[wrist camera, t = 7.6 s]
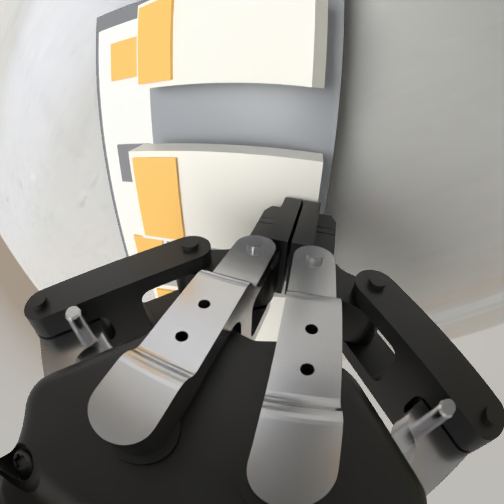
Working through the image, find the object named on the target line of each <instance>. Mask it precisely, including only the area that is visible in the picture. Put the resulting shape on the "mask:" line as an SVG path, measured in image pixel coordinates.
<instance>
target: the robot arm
mask: <svg viewBox="0 0 504 504" xmlns="http://www.w3.org/2000/svg"><path fill="white" fill-rule="evenodd" d="M320 207H321V203H319V202H313V201H307V200H305V201H304V204H303V207H302V200H301V199H295V198H289V197H285V199H284V202H283V204H282V206H281V207H277V206H271V207H269V208H267V209H266V210H264V212H263V214H262V215H261V217H260V219H259V220H258V222H257V224H256V226H255V227H254V229H253V231H252V232H251V234H250V236H245V237H242V238H240V239H239V240H237V241H236V242H235V244H234V245H233V246H232V248H231V249H221V250H211V244H210V242H209V241H208V240H207V239H205V238H203V237H200V236H187V237H183V238H180V239H177V240H174V241H171V242H168V243H165V244H162V245H159V246H157V247H154V248H151V249H148V250H145V251H142V252H140V253H137V254H134V255H131V256H129V257H126V258H123V259H120V260H118V261H115V262H112V263H110V264H107V265H104V266H102V267H99V268H96V269H94V270H91V271H88V272H86V273H83V274H81V275H78V276H76V277H73V278H70V279H68V280H65V281H63V282H60V283H58V284H55V285H53V286H50V287H48V288H45V289H43V290H41V291H38V292H37V293H35V294H34V295H33V296H31V297H30V299H29V300H28V301H27V303H26V305H25V309H24V313H25V316H26V317H27V319H28V320H29V322H30V324H31V325H32V326H33V328H34V329H35V331H36V333H37V335H38V337H39V338H40V345H41V354H42V363H43V370H44V378H42V379H41V380H40V381H39V382H38V383H37V384H36V385H35V386H34V388H33V389H32V391H31V392H30V395H29V397H28V400H27V403H26V409H25V417H24V422H23V427H22V431H21V434H20V437H19V441H18V443H17V445H16V446H15V448H14V449H13V450H12V451H11V452H10V453H9V454H7V455H5V456H3V457H2V458H0V504H427V500H426V495H428V494H429V493H430V492H431V491H432V490H433V489H434V488H435V487H436V486H437V485H439V484H440V482H442V481H443V480H444V479H445V478H446V477H447V476H448V475H449V474H450V473H451V472H452V471H453V470H454V468H455V467H457V466H458V464H459V463H460V462H461V461H462V460H463V459H464V458H465V457H466V456H467V455H468V454H470V453H471V452H473V451H475V450H477V449H479V448H480V447H482V446H484V445H486V444H487V443H489V442H490V441H492V440H494V439H495V438H497V437H498V436H499V435H500V434H501V432H502V430H503V428H504V408H503V406H502V404H501V402H500V401H499V399H498V398H497V397H496V395H495V394H494V393H493V391H492V390H491V389H490V387H489V386H488V385H487V384H486V382H485V381H484V380H483V379H482V377H481V376H480V375H479V374H478V372H477V371H476V370H475V369H474V367H473V366H472V365H471V364H470V363H469V361H468V360H467V359H466V358H465V357H464V356H463V354H462V353H461V352H460V351H459V350H458V349H457V347H456V346H455V345H454V344H453V343H452V342H451V341H450V339H449V338H448V337H447V336H446V335H445V334H444V333H443V332H442V331H441V329H440V328H439V327H438V326H437V325H436V324H435V323H434V322H433V321H432V320H431V319H430V318H429V317H428V316H427V314H426V313H425V312H424V311H423V310H422V309H421V308H420V307H419V306H418V305H417V304H416V303H415V302H414V301H413V300H412V299H411V298H410V297H409V296H408V295H407V294H406V293H405V292H404V291H403V290H402V289H401V288H400V287H399V286H398V285H397V284H396V283H395V282H394V281H393V280H392V279H391V278H390V277H389V276H387V275H386V274H384V273H381V272H379V271H375V270H365V271H362V272H360V273H358V275H357V276H356V277H355V276H353V275H351V274H348V273H346V272H345V271H343V270H342V269H340V268H339V267H338V266H337V265H336V263H335V258H334V243H335V228H336V222H335V221H334V219H333V218H332V216H329V215H324V214H319V213H320ZM301 210H302V211H301ZM286 277H287V280H286ZM174 280H176V281H177V286H178V290H175V291H173V292H171V293H168V294H166V295H163V296H161V297H158V298H156V299H153V300H151V301H148V302H142V297H143V295H144V294H145V293H146V292H147V291H149V290H151V289H154V288H156V287H159V286H161V285H164V284H166V283H169V282H171V281H174ZM285 280H286V287H285V295H286V298H285V303H284V308H283V313H282V318H281V323H280V328H279V333H278V338H277V341H255V339H256V337H257V335H258V332H259V330H260V328H261V326H262V324H263V322H264V319H265V317H266V315H267V313H268V311H269V308H270V303H271V300H272V298H273V295H274V292H275V293H280V294H281V293H282V290H283V286H284V283H285ZM377 330H379V331H380V332H381V333H382V335H383V336H384V337H385V338H386V339H387V341H388V342H389V343H390V344H391V346H392V347H393V349H394V351H395V354H394V353H393V351H392V350H391V349H390V348H389V346H388V345H387V344H386V343H385V342H384V340H383V339H382V338H381V337H380V335H379V334H378V333H377ZM342 353H343V354H344V355H345V357H346V358H347V360H348V361H349V362H350V364H351V365H352V366H353V368H354V369H355V371H356V372H357V373H358V375H359V376H360V378H361V379H362V381H363V382H364V384H365V385H366V386H367V388H368V389H369V390H370V392H371V394H372V395H373V396H374V398H375V399H376V401H377V402H378V404H379V405H380V406H381V408H382V409H383V411H384V412H385V414H386V415H387V416H388V418H389V419H390V421H391V422H392V424H393V428H392V431H391V434H390V432H389V431H388V429H387V428H386V426H385V425H384V423H383V421H382V420H381V418H380V417H379V415H378V413H377V412H376V410H375V409H374V407H373V406H372V404H371V402H370V401H369V399H368V398H367V396H366V395H365V393H364V392H363V390H362V389H361V387H360V386H359V384H358V383H357V381H356V380H355V379H354V378H353V377H352V375H350V374H349V373H348V372H347V371H346V370H345V369H343V368H342Z"/></svg>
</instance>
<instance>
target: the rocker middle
mask: <svg viewBox="0 0 504 504" xmlns="http://www.w3.org/2000/svg"><path fill="white" fill-rule="evenodd" d="M128 153H129V160H130V168H131V174H132V181H133V187H134V193H135V199H136V204H137V210H138V215H139V220H140V225H141V230H142V234H143V238H149V239H156V240H162V241H169V242H171V241H174V240H177V239H180V238H183V237H187V236H200V237H203V238H205V239H207V240H208V241H209V242H210V244H211V248H216V249H231V248H232V246H233V245H234V244H235V242H236V241H237V240H239V239H240V238H242V237H245V236H250V234H251V232H252V231H253V229H254V227H255V226H256V224H257V222H258V220H259V219H260V217H261V215H262V214H263V212H264V210H266V209H267V208H269V207H271V206H277V207H281V206H282V204H283V202H284V199H285V197H289V198H295V199H301V200H302V207H303V204H304V201H305V200H307V201H313V202H318V198H319V191H320V183H321V176H322V168H323V154H322V153H314V152H307V151H299V150H290V149H281V148H271V147H259V146H246V145H229V144H201V143H160V144H142V145H140V146H138V147H136V148H134V149H132V150H131V151H129V152H128ZM301 211H302V210H301Z"/></svg>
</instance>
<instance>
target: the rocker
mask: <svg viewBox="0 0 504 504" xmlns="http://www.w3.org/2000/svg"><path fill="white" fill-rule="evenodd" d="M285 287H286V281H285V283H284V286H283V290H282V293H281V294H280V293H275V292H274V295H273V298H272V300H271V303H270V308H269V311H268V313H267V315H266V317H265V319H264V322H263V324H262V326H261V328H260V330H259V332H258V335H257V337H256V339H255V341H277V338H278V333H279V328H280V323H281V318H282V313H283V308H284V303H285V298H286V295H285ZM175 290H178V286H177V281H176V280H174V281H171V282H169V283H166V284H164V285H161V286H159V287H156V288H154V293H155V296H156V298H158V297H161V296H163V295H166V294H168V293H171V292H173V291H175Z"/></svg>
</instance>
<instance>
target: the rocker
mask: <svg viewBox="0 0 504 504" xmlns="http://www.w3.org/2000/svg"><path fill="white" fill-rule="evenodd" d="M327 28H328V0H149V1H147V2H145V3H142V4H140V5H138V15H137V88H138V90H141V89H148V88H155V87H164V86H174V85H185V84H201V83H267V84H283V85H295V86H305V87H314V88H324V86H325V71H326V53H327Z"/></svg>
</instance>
